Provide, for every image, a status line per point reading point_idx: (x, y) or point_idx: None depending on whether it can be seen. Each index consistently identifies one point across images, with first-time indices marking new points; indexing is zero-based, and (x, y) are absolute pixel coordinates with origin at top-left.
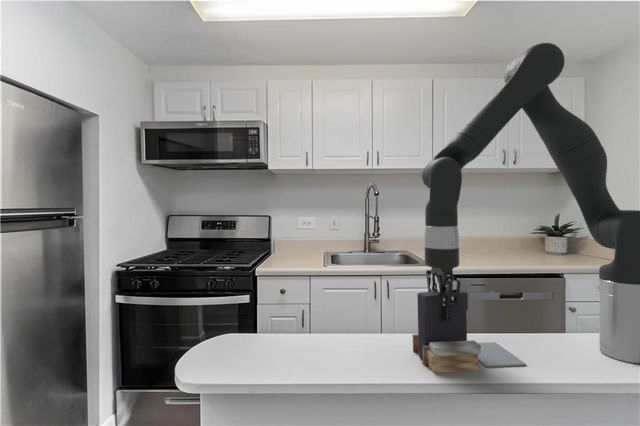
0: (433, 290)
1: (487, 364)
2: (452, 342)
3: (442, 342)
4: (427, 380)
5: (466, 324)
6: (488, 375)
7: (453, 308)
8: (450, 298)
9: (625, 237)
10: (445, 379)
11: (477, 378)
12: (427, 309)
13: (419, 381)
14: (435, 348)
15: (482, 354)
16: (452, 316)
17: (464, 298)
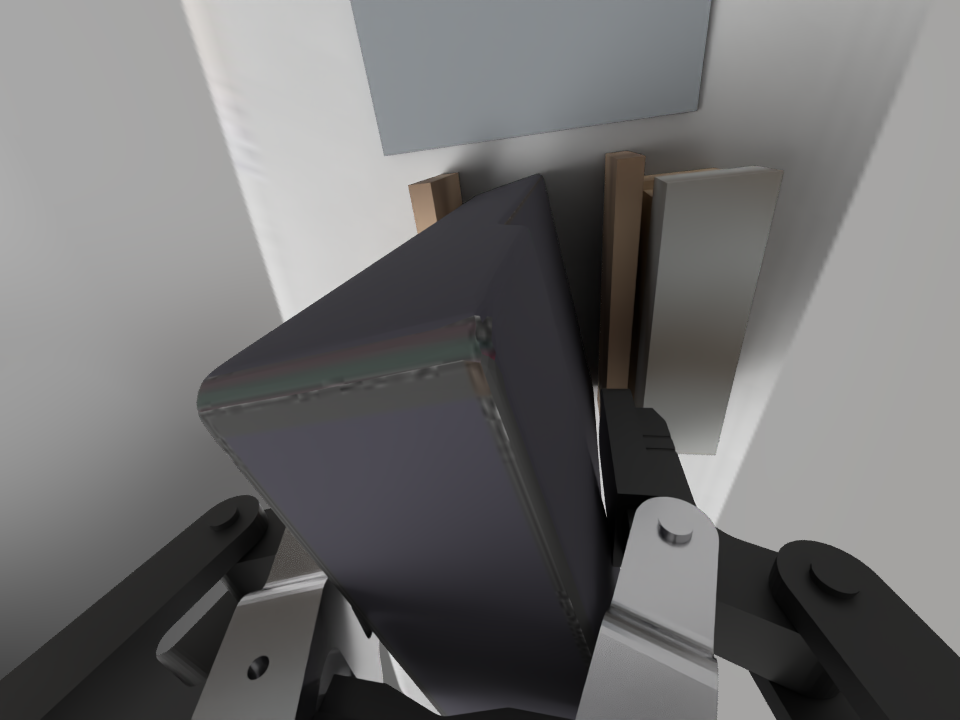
0: (379, 679)
1: (682, 91)
2: (668, 345)
3: (655, 397)
4: (739, 424)
5: (522, 202)
6: (787, 138)
7: (580, 428)
8: (658, 609)
9: None
10: (754, 363)
11: (796, 218)
12: None
13: (738, 449)
14: (713, 446)
15: (537, 62)
16: (636, 418)
17: (534, 349)
